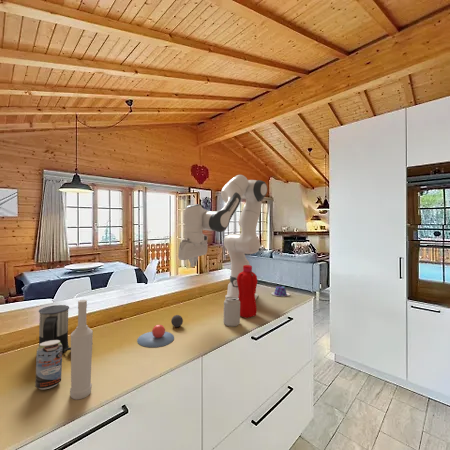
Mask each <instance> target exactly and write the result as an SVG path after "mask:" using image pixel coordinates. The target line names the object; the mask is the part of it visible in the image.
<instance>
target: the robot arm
mask: <svg viewBox="0 0 450 450" xmlns="http://www.w3.org/2000/svg"><path fill="white" fill-rule="evenodd" d="M267 194H268V185H267V183H266V182H265V181H263V180H261V179H260V180H259V179H257V180H256V179H248V178H247V176H245V175H243V174H237V175H235V176H234V177H232V178H231V179H230V180H229V181H227V182H226V183H225V185H224V186H223V187H222V189H221V191H220V195H221V196H220V197H221V199H222V201H223V202H224V203H225V204H224V206H223V207H222V209H219V210H216V211H215V210H214V211H210V210H207V209H205V208H204V207H202V205H201V204H199V203H195V204H189V205H187V206H185V209H184V213H183V224H184V230H183V237H184V238H183V239H181V241H180V243H179V246H178V253H177V254H178V256H177V257H178V259H179V260H180V261H187V260H188V261H189V263H190V268H194V267H196V266H197V265H198V260H199V257H201V256H206V255H207V252H208V240H209V239H208V237H209V236H208V235H206V234H204V233H203V231H211V232H212V231H213V232H217V233H222V232H225V231H226V229H228V227H229V225H230V223H231V219H232V218H233V216H234V214H235V212H236V211H237V209H238V207H239V206H240V204H241V201H242V199H245V203H244V205H243V207H242V211H241V213H240V216H239V219H238V226H239V227H240V229H241V231H240V233H231V234H228V235H226V236H225V237H224V238H223V247H224V248H225V249H226V251H227V252H228V256H229V258H230V277H229V283H228V284H227V293H226V294H225V296H224V297H225V298H226V297H231V296H232V297H239V290H238V285H237V277H238V274H239V273H241V272H242V271H243V266H244V265H250V266H251V264H250V261H249V260H248V259H247V257H246V255H253V254H256V253H258V252H259V250H260V247H261V242H260V239H259V238H258V236H257V226H258V223H259V222H258V221H259V218H260V215H261V211H262V204H263V203H262V201H263V199H264V198H265V197H266V196H267ZM258 294H259V293H257V292H256V293H255V301H256V300H257V298H258V297H259V295H258Z"/></svg>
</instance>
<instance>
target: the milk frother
mask: <svg viewBox="0 0 450 450" xmlns="http://www.w3.org/2000/svg"><path fill="white" fill-rule="evenodd" d="M69 309H70V306H69V305H67V304H58V305H49V306H45V307H42V308H40V309H39V310H38V313H39V323H38V324H39V328H38V330H39V331H38V332H39V333H38V334H39V337H38V347H39V346H40V343H42V342H46V341H50V340H60V343H61V344H62V354H63V353H65V352H66V351H71V346H70V345H69V333H68V332H69ZM92 345H94V344H93V342H92Z"/></svg>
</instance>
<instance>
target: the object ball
mask: <svg viewBox="0 0 450 450" xmlns="http://www.w3.org/2000/svg"><path fill="white" fill-rule="evenodd" d="M151 332H152V334H153V336H154V337H155V338H161V337H162V336H163V335H164V334H165V332H166V329H165V326H163V325H162V324H156V325H155V326H153V328H152V331H151Z"/></svg>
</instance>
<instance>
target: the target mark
mask: <svg viewBox="0 0 450 450" xmlns="http://www.w3.org/2000/svg"><path fill="white" fill-rule="evenodd" d="M174 340H175V336H174V334H173V333H171V332H169V331H165V334H164V335H163V336H162V337H161V338H155V337H154V336H153V334H152V331H148V332H145V333H143V334H141V335H139V336H138V337H137V340H136V342H137V344H138V345H140V346H141V347H145V348H160V347H161V348H162V347H164V346H167V345H170V344H171V343H172V342H173V341H174Z"/></svg>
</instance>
